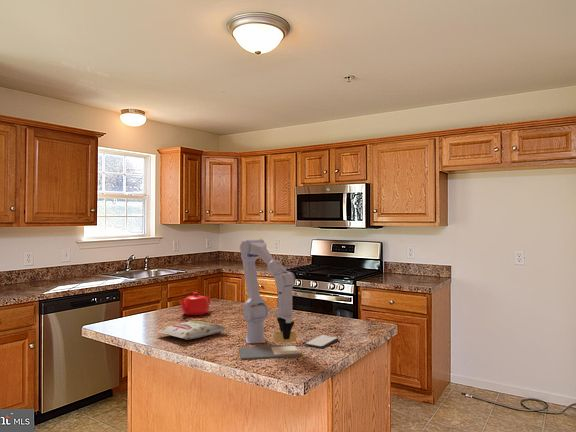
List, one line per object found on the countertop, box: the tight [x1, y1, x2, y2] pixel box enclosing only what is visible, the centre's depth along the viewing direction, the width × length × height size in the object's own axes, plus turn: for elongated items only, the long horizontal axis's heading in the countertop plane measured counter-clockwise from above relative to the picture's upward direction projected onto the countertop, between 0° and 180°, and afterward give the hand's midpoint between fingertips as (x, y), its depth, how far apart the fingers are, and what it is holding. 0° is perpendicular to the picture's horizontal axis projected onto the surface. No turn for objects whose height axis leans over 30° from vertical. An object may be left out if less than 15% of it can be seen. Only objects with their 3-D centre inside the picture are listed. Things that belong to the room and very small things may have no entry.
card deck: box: [273, 330, 297, 344], centre depth 168 cm, size 8×5×3 cm, turn 101°
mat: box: [238, 344, 302, 361], centre depth 166 cm, size 14×23×1 cm, turn 100°
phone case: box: [304, 334, 339, 350], centre depth 181 cm, size 9×2×16 cm
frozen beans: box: [157, 320, 229, 341], centre depth 192 cm, size 21×6×25 cm
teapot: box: [178, 291, 211, 316], centre depth 237 cm, size 25×16×12 cm, turn 149°
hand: (285, 337), depth 168 cm, fingers closed on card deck, 5 cm apart
